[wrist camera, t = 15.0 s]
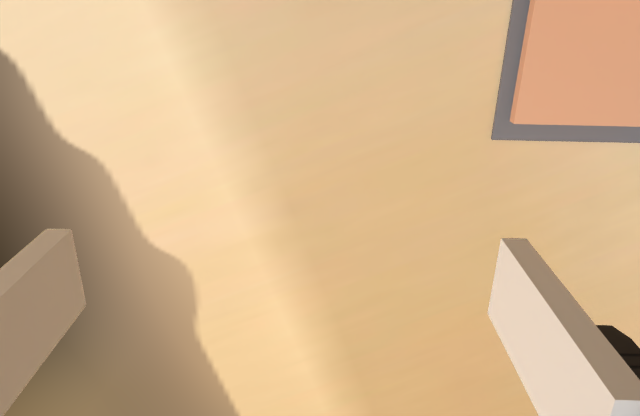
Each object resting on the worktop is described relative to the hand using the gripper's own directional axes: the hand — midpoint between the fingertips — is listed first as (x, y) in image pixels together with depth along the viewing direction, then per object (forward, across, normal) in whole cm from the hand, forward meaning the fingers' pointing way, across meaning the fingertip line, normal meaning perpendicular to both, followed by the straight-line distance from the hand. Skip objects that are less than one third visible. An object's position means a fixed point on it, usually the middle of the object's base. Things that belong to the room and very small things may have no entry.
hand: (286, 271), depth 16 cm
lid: (+28, +22, +7) cm, 37 cm away
